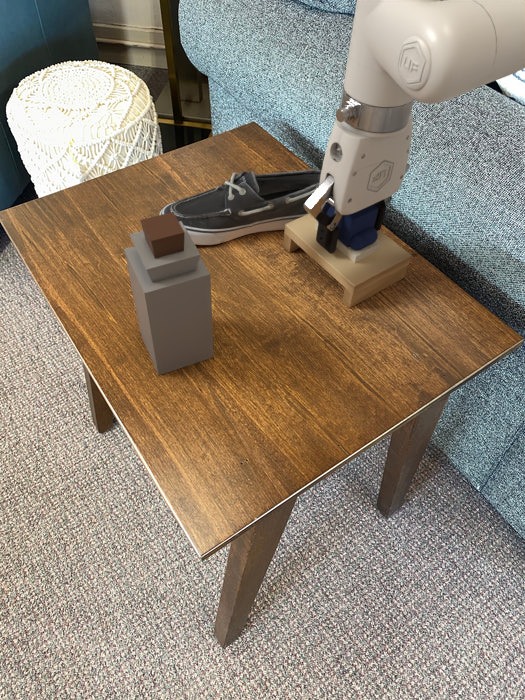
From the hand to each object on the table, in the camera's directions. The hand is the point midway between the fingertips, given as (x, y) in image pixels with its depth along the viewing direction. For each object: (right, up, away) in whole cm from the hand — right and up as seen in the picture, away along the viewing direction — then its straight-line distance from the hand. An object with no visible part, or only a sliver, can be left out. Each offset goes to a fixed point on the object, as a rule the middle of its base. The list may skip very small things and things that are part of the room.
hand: (348, 235), depth 74 cm
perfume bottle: (-22, -15, -6) cm, 27 cm away
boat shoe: (-14, +3, +8) cm, 16 cm away
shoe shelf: (0, -3, +4) cm, 5 cm away
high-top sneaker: (0, 0, +1) cm, 1 cm away
